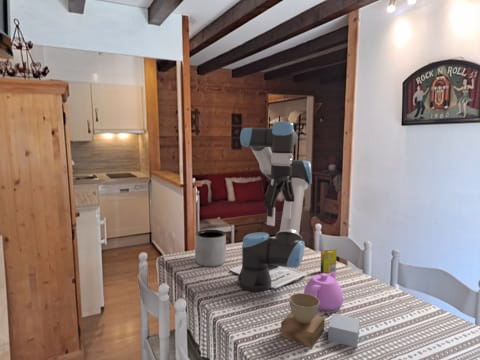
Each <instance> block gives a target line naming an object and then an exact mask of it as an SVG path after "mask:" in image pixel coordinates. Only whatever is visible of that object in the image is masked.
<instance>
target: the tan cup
mask: <svg viewBox="0 0 480 360" xmlns="http://www.w3.org/2000/svg"><path fill="white" fill-rule="evenodd" d="M288 300H289V302H288V303H289V306H290V307H289V308H290V311H291V312H292V314H293V316H294V318H295V319H296V321H297V322H299V323H302V324H307V323H310V322H311V321H312V319H313V318H314V316H315V315H317V313H318V310H319V309H318V307H319V303H320V301H319V300H318V298H316V297H315V296H313V295H310V294H305V293H304V292H299V293H293V294H291V295H290V296H289V298H288Z"/></svg>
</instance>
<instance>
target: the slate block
mask: <svg viewBox="0 0 480 360" xmlns="http://www.w3.org/2000/svg"><path fill="white" fill-rule="evenodd" d="M330 318H331V319H330V321H329V325H328V337H327V341H328V342H333V343H337V344H340V345H345V346H348V347H352V348H358V342H359V335H360V324H361V318H356V317H355V318H354V317H351V316H347V315H342V314H338V313H334V312H333V313H332V314H331V317H330Z"/></svg>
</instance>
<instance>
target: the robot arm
mask: <svg viewBox="0 0 480 360" xmlns="http://www.w3.org/2000/svg"><path fill="white" fill-rule="evenodd" d="M294 129H295V128H294V123H293V122H291V121H275V122H273V124H272V127H270V128H269V127H268V128H267V127H266V128H265V127H244V128H242V129H241V131H240V135H239V140H240V144H241V146H242V147H247V148H250V149H251V151H252V153H253V155H254V156H255V158H256V160H257V163H259V170H260V172H261V173H262V175H264V176H265V177H266V178H268V179H269V181H268V188H267V191H266V194H265V198H264V203H263V206H264V207H265V208H266V209H267V212H266V213H267V214H266V225H267V226H272V227H275V225H276V206H275V205H276V203H277V200H278V197H279V195H280V193H282V194H283V198H284V202H283V209H282V214H281V221H280V228H279V231H278V232H276V233H275V236H274V237H270V234H269V233H268V232H265V231H264V232H263V231H258V232H252V233H248V234H246V235H244V236H243V238H242V245H241V247H242V249H241V250H242V251H241V252H242V254H241V255H242V256H241V257H242V258H241V260H242V261H241V269H240V271H239V275H238V278H237V286H238V287H239V288H240V289H241V290H243V291H247V292H252V293H253V292H256V293H258V292H264V291H268V290H269V289H270V288H272V278H271V277H272V276H271V274H270V270H269V265H270V266H277V267H285V268H288V269H289V268H292V269H297V268H299V267H300V266H301V263H302V261H303V257H304V253H305V252H304V251H305V247H306V244H305V241H304V240H303V238H302V237H303V236H301V235H300V231H301V229H300V228H301V221H302V220H301V219H302V212H303V203H304V197H305V196H304V195H305V190H307V189H308V188H309V185H312V183H313V181H312V164H311V161H309V160H302V159H300V160H297V159H296V160H295V159H294V156H293V147H294V146H295V145H296V144H297V142H298V134H297V133H296V131H295V130H294Z"/></svg>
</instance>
